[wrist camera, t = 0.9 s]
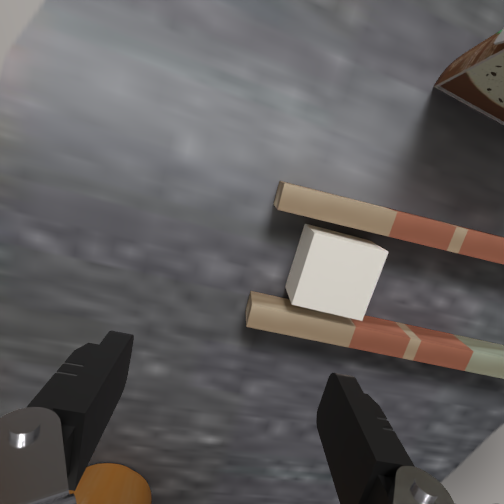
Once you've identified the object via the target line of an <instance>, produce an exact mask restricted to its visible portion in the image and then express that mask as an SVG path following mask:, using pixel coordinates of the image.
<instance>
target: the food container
mask: <svg viewBox="0 0 504 504" xmlns="http://www.w3.org/2000/svg"><path fill="white" fill-rule="evenodd" d="M434 87H435V88H437V89H439V90H441V91H442V92H444V93H446V94H448V95H450V96H451V97H453V98H455V99H457V100H459V101H460V102H462V103H464V104H466V105H468V106H469V107H471V108H473V109H475V110H477V111H478V112H480V113H482V114H484V115H486V116H488V117H489V118H491V119H493V120H495V121H497V122H498V123H500V124H502V125H504V28H503V29H502V30H501V31H499V32H497V33H496V34H494V35H493V36H491V37H489V38H488V39H486V40H485V41H483V42H481V43H480V44H478V45H477V46H475V47H474V48H472V49H470V50H469V51H467V52H466V53H464V54H463V55H461V56H460V57H458V58H457V59H456V60H454V61H453V62H452V63H451V64H450V65H449V66H448V67H447V68H446V69H445V71H444V72H443V73H442V74H441V75H440V77H439V78H438V80H437V82H436V83H435V85H434Z"/></svg>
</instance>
